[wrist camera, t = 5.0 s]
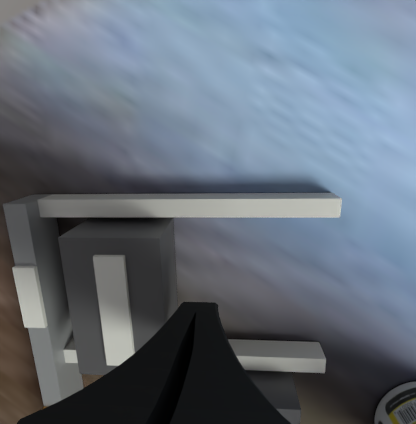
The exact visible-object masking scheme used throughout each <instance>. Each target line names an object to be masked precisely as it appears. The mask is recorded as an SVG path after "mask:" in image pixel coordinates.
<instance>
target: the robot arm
mask: <svg viewBox="0 0 416 424" xmlns="http://www.w3.org/2000/svg"><path fill="white" fill-rule="evenodd" d="M17 424H291V423H290V422H289V421H288V420H287V419H286V418H284V417H283V416H282V415H281V414H280V412H279V411H278V410H277V409H276V408H275V407H274V406H273V405H272V404H271V403H270V402H269V401H268V399H267V398H266V397H265V396H264V395H263V393H262V392H261V391H260V390H259V389H258V387H257V386H256V385H255V384H254V382H253V381H252V380H251V378H250V377H249V375H248V374H247V373H246V371H245V370H244V368H243V366H242V365H241V363H240V362H239V360H238V358H237V357H236V355H235V353H234V351H233V349H232V347H231V345H230V343H229V341H228V339H227V337H226V334H225V332H224V329H223V327H222V324H221V321H220V317H219V313H218V305H217V304H216V303H208V302H183V303H182V304H181V305H180V306H179V308H178V309H177V310H176V311H175V312H174V314H173V315H172V316H171V317H170V318H169V319H168V321H167V322H166V323H165V324H164V325H163V326H162V327H161V328H160V329H159V330H158V332H157V333H156V334H155V335H154V336H153V337H152V338H151V339H149V340H148V341H147V342H146V343H145V344H144V345H143V346H142V347H141V348H140V349H139V350H138V351H137V352H135V353H134V354H133V355H132V356H131V357H129V358H128V359H127V360H126V361H124V362H123V363H122V364H120V365H119V366H118V367H116V368H115V369H113V370H112V371H110V372H109V373H107V374H106V375H104V376H103V377H101V378H100V379H98V380H97V381H95V382H93V383H92V384H90V385H88V386H87V387H85V388H83V389H82V390H80V391H78V392H76V393H74V394H72V395H71V396H69V397H67V398H65V399H63V400H61V401H59V402H57V403H55V404H53V405H51V406H48V407H46V408H44V409H42V410H40V411H38V412H35V413H33V414H31V415H29V416H26V417H24V418H22V419H20V420H19V421H18V423H17Z"/></svg>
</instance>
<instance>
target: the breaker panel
mask: <svg viewBox="0 0 416 424" xmlns="http://www.w3.org/2000/svg"><path fill="white" fill-rule="evenodd" d="M341 202H342V198H340V197H338V196H337V195H335V194H334V193H193V194H33V195H30V196H26V197H23V198H20V199H17V200H14V201H11V202H8V203H5V204H3V208H4V213H5V218H6V223H7V228H8V233H9V238H10V243H11V247H12V252H13V257H14V262H15V266H14V267H13V268H12V270H13V275H14V280H15V284H16V289H17V294H18V299H19V304H20V308H21V313H22V318H23V323H24V327H27V328H28V331H29V336H30V340H31V345H32V350H33V355H34V360H35V365H36V370H37V375H38V380H39V385H40V389H41V394H42V399H43V404H44V407H43V409H44V408H46V407H48V406H51V405H53V404H55V403H57V402H59V401H61V400H63V399H65V398H67V397H69V396H71V395H72V394H74V393H76V392H78V391H80V390H82V389H83V388H84V387H83V381H82V375H81V374H80V373H79V367H78V360H77V354H76V348H75V342H74V335H73V329H72V323H71V317H70V310H69V304H68V298H67V292H66V285H65V279H64V273H63V267H62V260H61V254H60V248H59V242H58V237H60V236H59V229H58V223H57V217H340V212H341ZM228 341H229V343H230V345H231V347H232V349H233V351H234V353H235V355H236V357H237V358H238V360H239V362H240V363H241V365H242V366H243V368H244V370H258V371H283V372H308V373H325V366H326V358H325V355H324V353H323V350H322V348H321V346H320V343H319V342H301V341H270V340H238V339H228Z"/></svg>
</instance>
